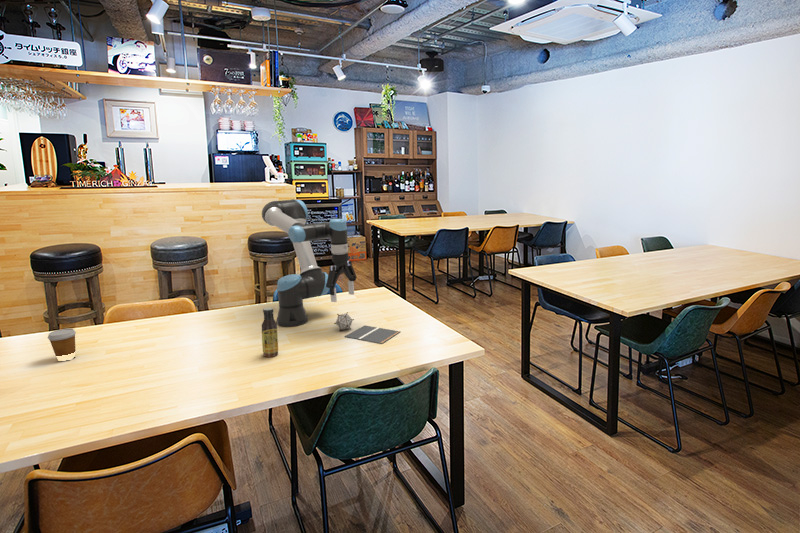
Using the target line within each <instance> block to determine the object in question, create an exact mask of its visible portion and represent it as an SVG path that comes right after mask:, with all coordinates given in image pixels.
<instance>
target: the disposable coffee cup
mask: <svg viewBox="0 0 800 533" xmlns="http://www.w3.org/2000/svg"><path fill="white" fill-rule="evenodd" d="M76 333H77V331H75V329H74V328H62V329H57V330H53V331H51V332H49V333H48V336H47V339H48V341H49V342H50V344H51V347H52V350H53V353H54V355H55V357H56V356H62V355H68V354H71V353H74V352H75V351H76ZM76 352H77V351H76Z"/></svg>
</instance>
